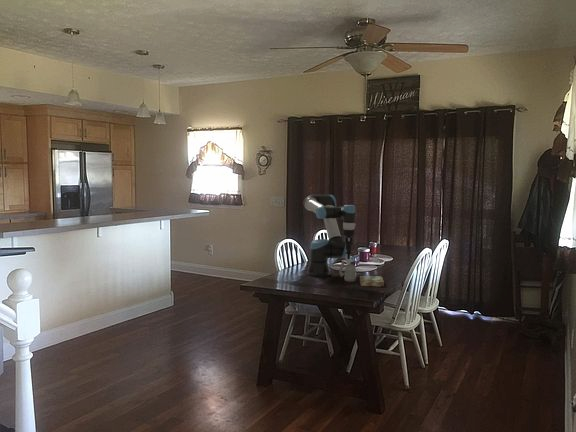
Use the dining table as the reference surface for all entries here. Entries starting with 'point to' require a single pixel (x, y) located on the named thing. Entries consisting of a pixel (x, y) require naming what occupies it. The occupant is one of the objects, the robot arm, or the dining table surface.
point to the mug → (348, 272)
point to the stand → (371, 281)
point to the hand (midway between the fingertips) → (347, 261)
